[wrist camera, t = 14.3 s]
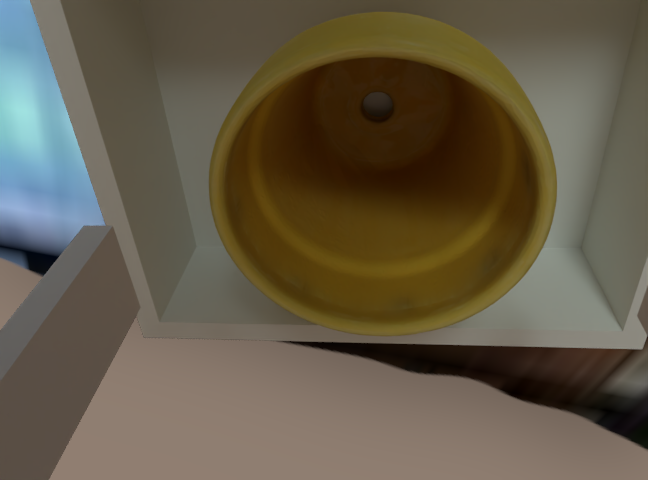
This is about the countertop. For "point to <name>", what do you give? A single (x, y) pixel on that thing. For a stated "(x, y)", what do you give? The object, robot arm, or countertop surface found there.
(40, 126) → the countertop surface
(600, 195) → the crate
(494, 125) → the plant pot
